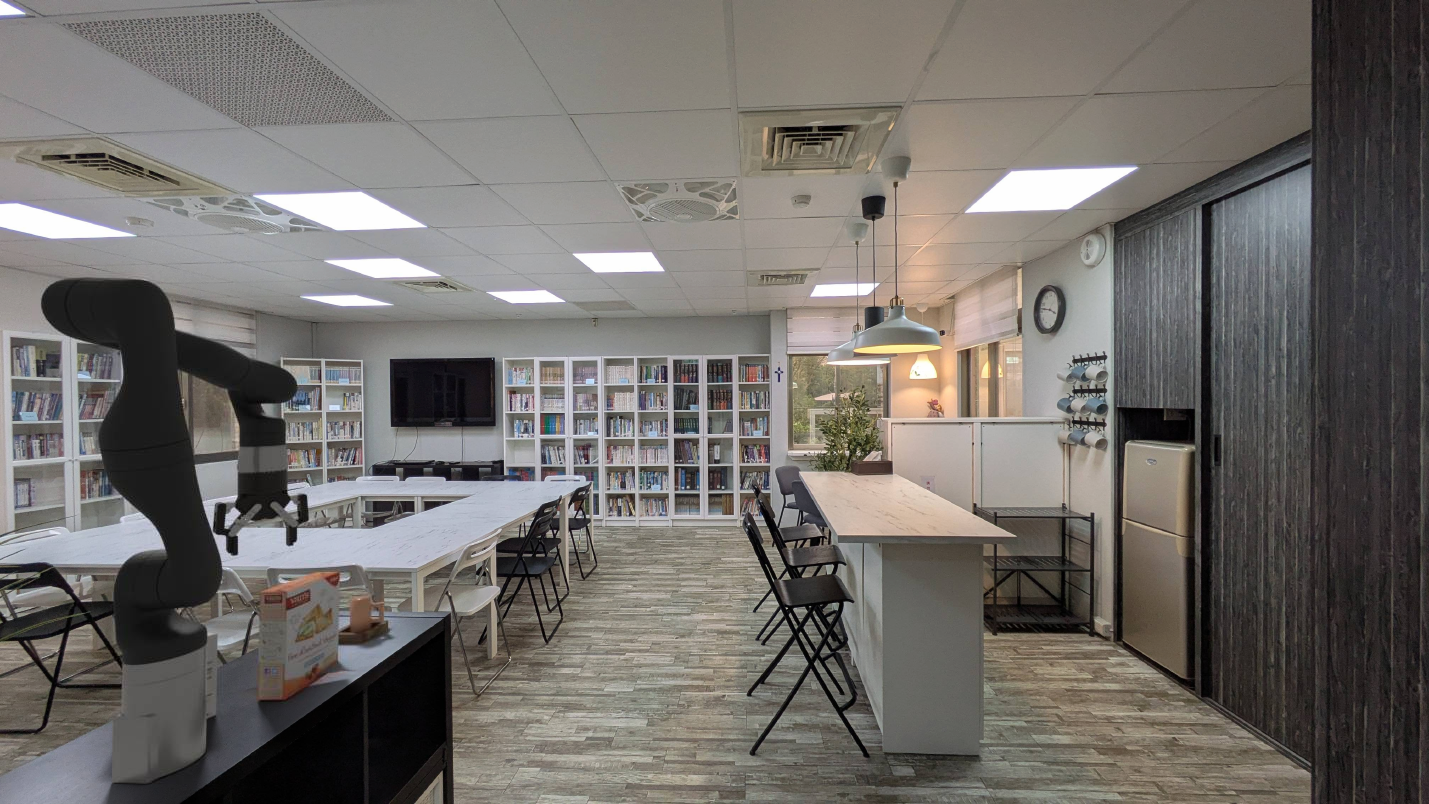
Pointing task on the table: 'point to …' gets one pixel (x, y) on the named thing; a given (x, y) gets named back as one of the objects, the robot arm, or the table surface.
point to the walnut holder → (364, 637)
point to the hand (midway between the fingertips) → (263, 550)
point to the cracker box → (297, 634)
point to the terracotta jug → (364, 613)
